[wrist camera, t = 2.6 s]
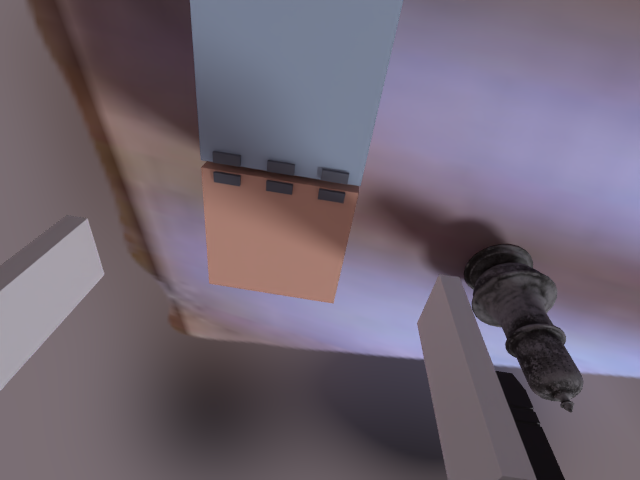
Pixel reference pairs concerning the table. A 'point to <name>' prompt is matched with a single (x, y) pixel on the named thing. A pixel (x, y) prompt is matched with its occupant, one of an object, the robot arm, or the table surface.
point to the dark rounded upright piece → (524, 319)
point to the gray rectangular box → (291, 82)
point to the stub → (276, 231)
